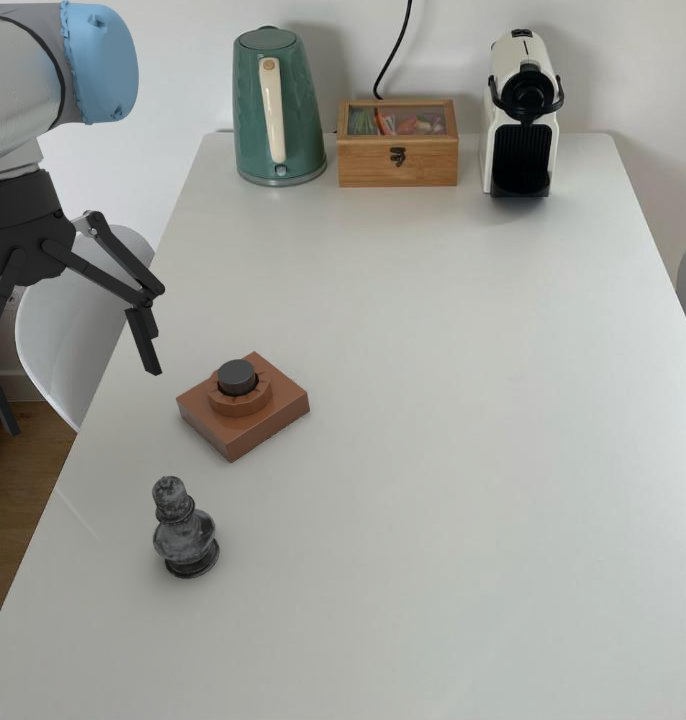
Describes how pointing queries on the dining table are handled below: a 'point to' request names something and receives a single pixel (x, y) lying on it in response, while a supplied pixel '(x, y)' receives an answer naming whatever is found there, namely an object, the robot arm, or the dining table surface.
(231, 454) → the brown square base plate
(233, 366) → the button
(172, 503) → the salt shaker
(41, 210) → the robot arm
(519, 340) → the dining table surface
